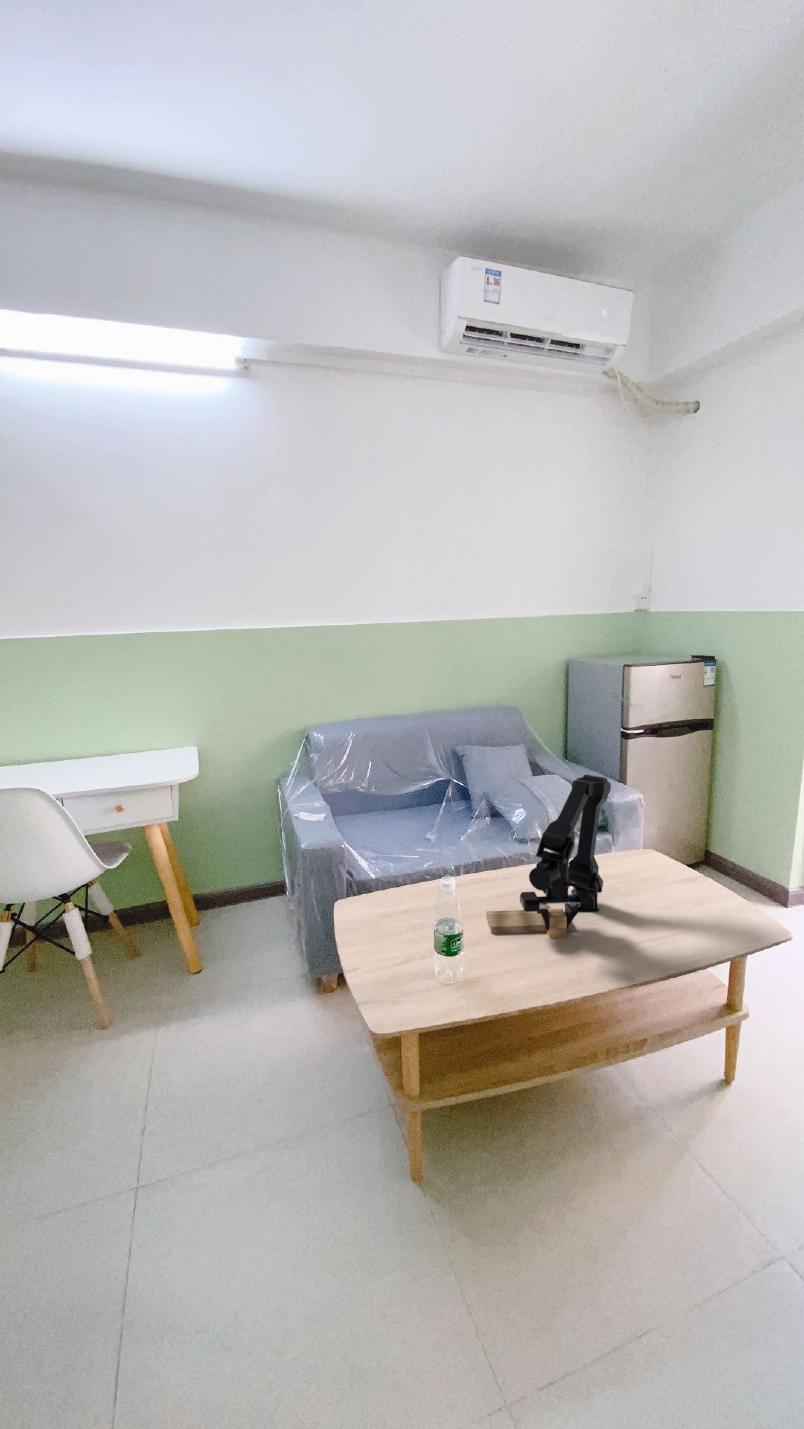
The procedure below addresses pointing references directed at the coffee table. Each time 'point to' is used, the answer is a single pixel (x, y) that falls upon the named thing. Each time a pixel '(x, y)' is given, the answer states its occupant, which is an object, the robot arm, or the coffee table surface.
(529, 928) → the board
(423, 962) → the coffee table surface
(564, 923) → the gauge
